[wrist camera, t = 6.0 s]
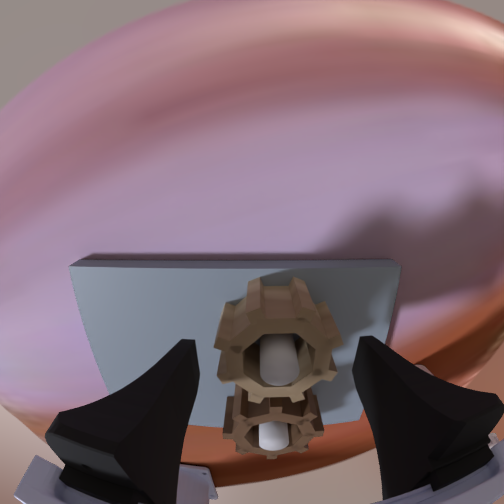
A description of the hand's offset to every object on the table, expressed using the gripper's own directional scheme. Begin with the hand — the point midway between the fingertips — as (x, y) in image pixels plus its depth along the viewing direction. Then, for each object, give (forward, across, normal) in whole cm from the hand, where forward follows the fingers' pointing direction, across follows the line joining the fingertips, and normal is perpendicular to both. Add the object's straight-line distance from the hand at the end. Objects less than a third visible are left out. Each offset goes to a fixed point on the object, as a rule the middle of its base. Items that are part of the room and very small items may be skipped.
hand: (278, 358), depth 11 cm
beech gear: (+3, 0, 0) cm, 3 cm away
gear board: (+4, +2, +3) cm, 5 cm away
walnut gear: (+3, 0, +6) cm, 6 cm away
